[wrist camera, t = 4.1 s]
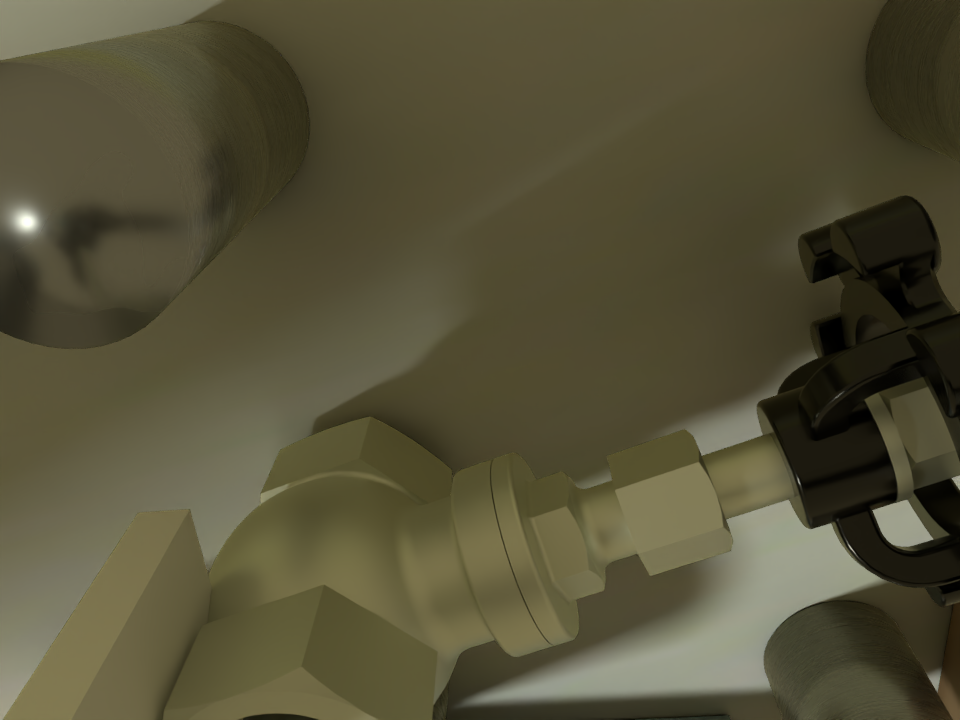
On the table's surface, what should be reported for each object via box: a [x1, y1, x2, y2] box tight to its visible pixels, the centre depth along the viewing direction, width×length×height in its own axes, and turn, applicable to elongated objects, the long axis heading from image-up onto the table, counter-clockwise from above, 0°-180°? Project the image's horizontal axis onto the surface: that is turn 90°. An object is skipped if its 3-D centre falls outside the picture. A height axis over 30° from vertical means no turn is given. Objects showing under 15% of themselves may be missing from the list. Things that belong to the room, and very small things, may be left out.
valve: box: [163, 195, 960, 720], centre depth 13 cm, size 7×7×12 cm
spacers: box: [0, 0, 960, 720], centre depth 14 cm, size 20×16×6 cm
